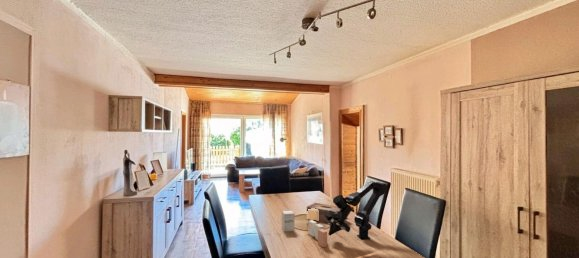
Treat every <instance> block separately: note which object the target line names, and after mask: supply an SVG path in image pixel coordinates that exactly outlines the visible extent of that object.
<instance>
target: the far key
mask: <svg viewBox="0 0 579 258" xmlns="http://www.w3.org/2000/svg"><path fill="white" fill-rule="evenodd" d="M315 224H318V222H317V221H313V220H308V224H307V225H308V228H307V230H308V231H307V233H308V235H310V236H311V237H315Z"/></svg>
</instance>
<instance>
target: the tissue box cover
mask: <svg viewBox="0 0 579 258" xmlns="http://www.w3.org/2000/svg"><path fill="white" fill-rule="evenodd" d="M311 208H315V209H318V210H319V221H318V222H322V223H323V222H324V223H323V224H327V223H329V222H328V221H327V220H326V219H325V216H326V215H328V213H329V211H330V210H331V211H333V212H336V211H340V209H339V208H338V207H337V206H336V205H334V204H333V205H332V204H327V203H320V202H313V203H312V204H310V205H308V206H306V212H307V211H308V209H311ZM333 219H334V218H333ZM346 221H347V220H345V221H344V222H346ZM338 224H339V223H338Z"/></svg>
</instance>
